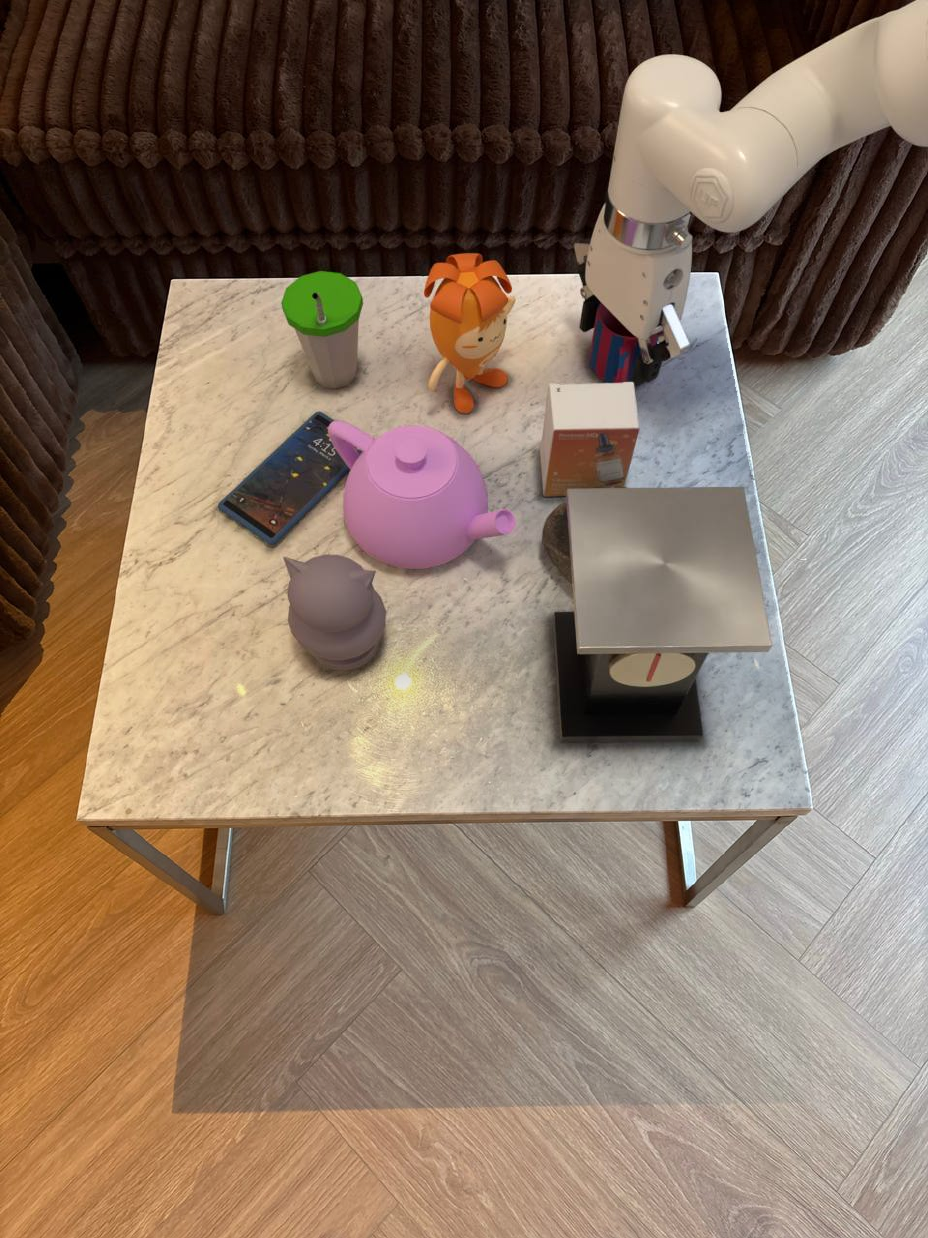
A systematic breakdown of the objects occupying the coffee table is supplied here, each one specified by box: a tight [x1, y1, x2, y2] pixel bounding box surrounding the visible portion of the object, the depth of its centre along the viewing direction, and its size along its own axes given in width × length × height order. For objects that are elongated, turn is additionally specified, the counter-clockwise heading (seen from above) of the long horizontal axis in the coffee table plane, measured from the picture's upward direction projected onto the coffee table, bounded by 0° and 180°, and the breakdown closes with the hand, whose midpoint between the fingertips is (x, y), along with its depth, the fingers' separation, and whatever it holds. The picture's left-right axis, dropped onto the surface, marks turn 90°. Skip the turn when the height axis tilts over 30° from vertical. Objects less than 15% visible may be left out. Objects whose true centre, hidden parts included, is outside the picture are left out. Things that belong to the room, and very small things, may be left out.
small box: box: [539, 382, 641, 498], centre depth 90 cm, size 8×6×10 cm
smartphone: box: [217, 411, 363, 547], centre depth 94 cm, size 8×1×15 cm
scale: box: [552, 486, 773, 744], centre depth 75 cm, size 13×13×20 cm
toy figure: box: [423, 252, 517, 415], centre depth 93 cm, size 12×8×15 cm, turn 134°
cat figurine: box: [282, 554, 387, 672], centre depth 81 cm, size 8×8×12 cm
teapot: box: [328, 419, 517, 570], centre depth 87 cm, size 14×20×11 cm
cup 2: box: [588, 302, 659, 383], centre depth 97 cm, size 7×10×7 cm
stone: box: [541, 485, 628, 585], centre depth 88 cm, size 11×11×5 cm
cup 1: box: [280, 270, 364, 391], centre depth 94 cm, size 8×8×15 cm
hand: (618, 351), depth 98 cm, fingers closed on cup 2, 8 cm apart
